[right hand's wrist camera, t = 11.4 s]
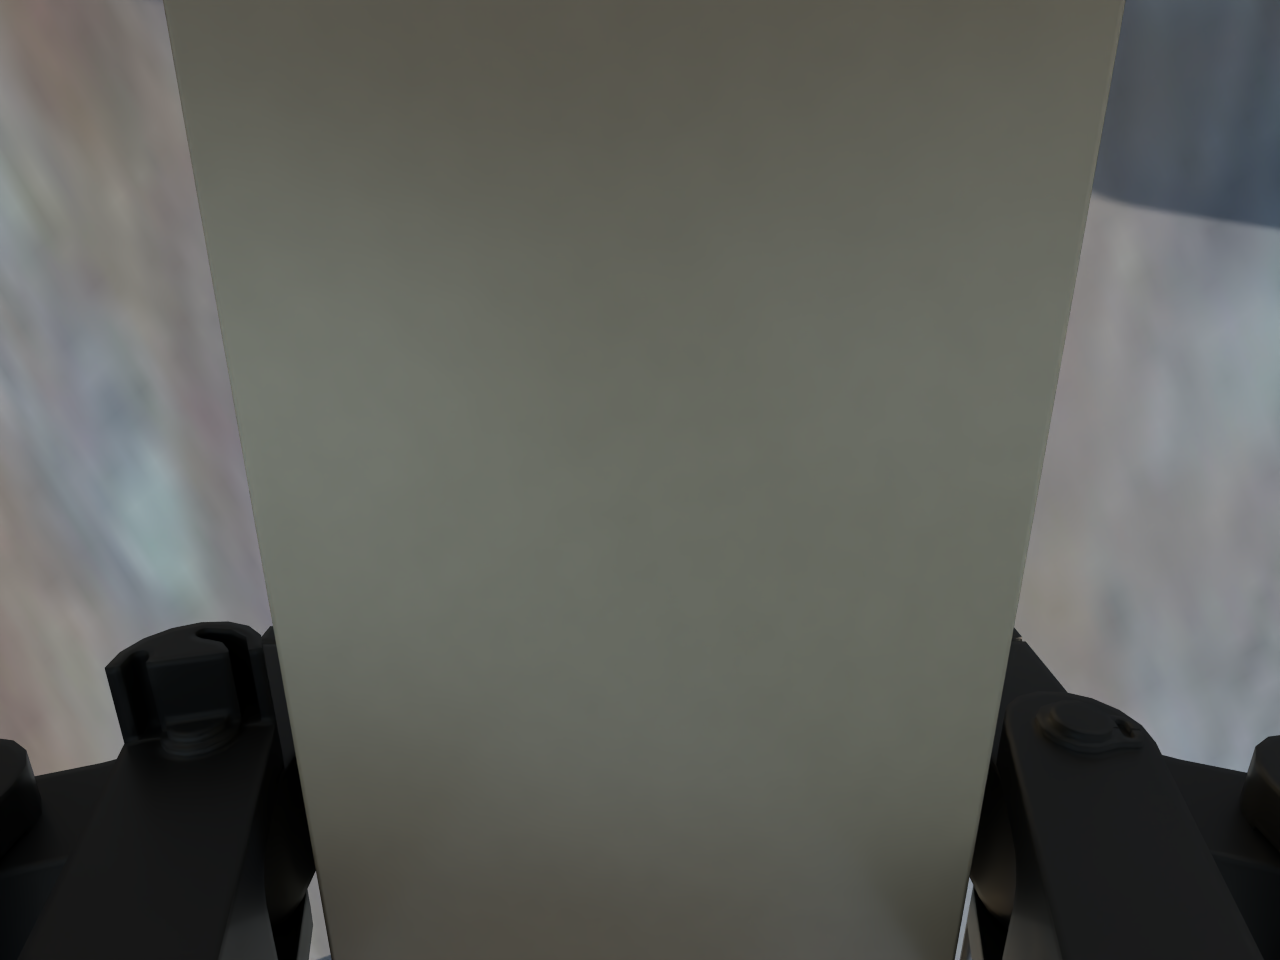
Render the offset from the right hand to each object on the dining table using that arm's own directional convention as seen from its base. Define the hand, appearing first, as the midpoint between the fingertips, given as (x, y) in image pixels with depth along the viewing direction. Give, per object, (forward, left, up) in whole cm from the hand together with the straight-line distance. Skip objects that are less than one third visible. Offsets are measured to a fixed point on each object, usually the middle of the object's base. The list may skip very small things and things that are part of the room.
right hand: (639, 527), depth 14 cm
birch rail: (+7, +11, -1) cm, 13 cm away
